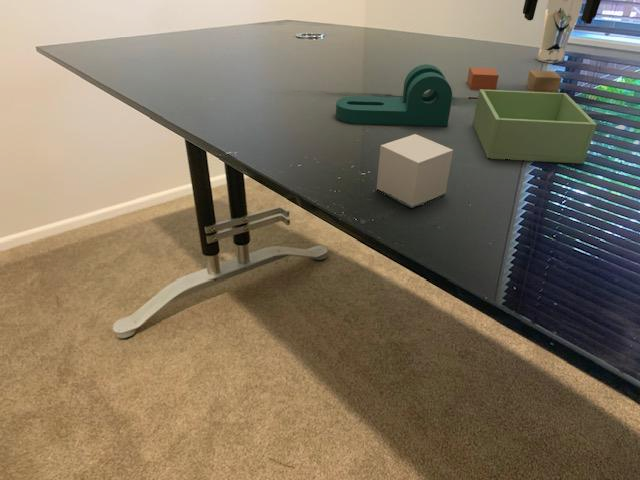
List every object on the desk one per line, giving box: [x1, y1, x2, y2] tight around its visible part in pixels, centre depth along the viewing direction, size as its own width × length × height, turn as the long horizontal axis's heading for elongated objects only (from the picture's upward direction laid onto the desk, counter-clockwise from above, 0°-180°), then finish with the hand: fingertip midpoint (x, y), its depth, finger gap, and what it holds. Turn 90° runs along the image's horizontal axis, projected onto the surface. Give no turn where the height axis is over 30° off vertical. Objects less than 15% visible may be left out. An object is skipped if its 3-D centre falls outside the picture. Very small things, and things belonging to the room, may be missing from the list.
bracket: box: [335, 63, 453, 127], centre depth 82 cm, size 18×7×8 cm, turn 88°
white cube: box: [376, 133, 454, 206], centre depth 61 cm, size 6×6×6 cm
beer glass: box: [535, 0, 584, 64], centre depth 113 cm, size 7×7×15 cm
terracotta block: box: [466, 67, 499, 100], centre depth 93 cm, size 4×4×4 cm
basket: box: [472, 89, 598, 165], centre depth 74 cm, size 13×13×6 cm
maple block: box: [525, 69, 563, 93], centre depth 92 cm, size 4×4×4 cm
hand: (556, 20), depth 86 cm, fingers open, 9 cm apart
